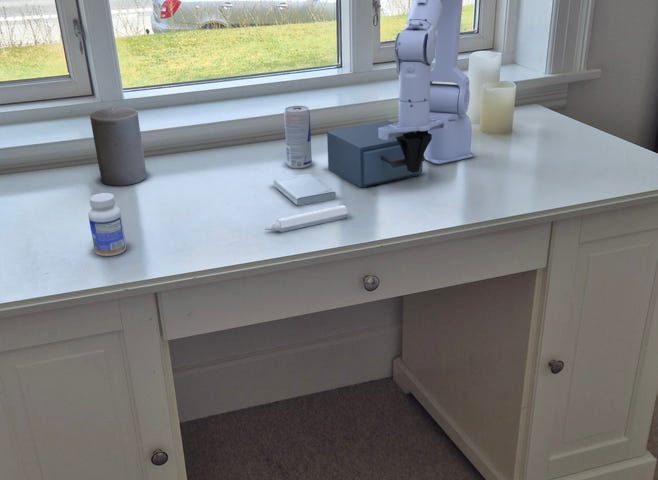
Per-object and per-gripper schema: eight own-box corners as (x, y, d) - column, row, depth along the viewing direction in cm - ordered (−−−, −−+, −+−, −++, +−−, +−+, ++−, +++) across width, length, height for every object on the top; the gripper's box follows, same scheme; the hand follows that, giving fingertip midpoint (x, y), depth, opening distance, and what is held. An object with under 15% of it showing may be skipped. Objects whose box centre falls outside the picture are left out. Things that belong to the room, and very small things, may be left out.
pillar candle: (91, 183, 173) (78, 111, 165) (118, 169, 181) (106, 99, 173) (131, 188, 170) (119, 114, 162) (156, 173, 177) (146, 102, 170)
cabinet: (421, 174, 171) (422, 135, 166) (360, 187, 165) (360, 147, 161) (386, 157, 181) (387, 120, 177) (328, 169, 175) (327, 131, 171)
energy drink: (313, 160, 181) (310, 105, 174) (310, 168, 176) (308, 112, 170) (288, 161, 181) (285, 105, 175) (285, 168, 177) (282, 112, 170)
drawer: (437, 179, 165) (438, 148, 162) (380, 192, 160) (380, 160, 156) (390, 156, 179) (390, 127, 175) (335, 167, 173) (335, 138, 170)
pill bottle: (97, 245, 145) (87, 192, 140) (128, 243, 145) (119, 190, 140) (92, 258, 140) (82, 203, 135) (125, 255, 140) (115, 201, 135)
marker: (264, 237, 147) (344, 219, 153) (268, 235, 145) (348, 216, 151) (260, 223, 147) (340, 205, 152) (264, 221, 145) (344, 202, 150)
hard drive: (335, 191, 159) (310, 172, 169) (296, 198, 157) (273, 178, 166) (336, 199, 160) (311, 180, 170) (296, 206, 158) (273, 186, 167)
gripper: (393, 108, 147) (392, 183, 154) (459, 97, 153) (456, 169, 159) (372, 101, 152) (372, 173, 159) (436, 90, 158) (434, 160, 165)
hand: (413, 171), depth 160 cm, fingers closed, pressing on drawer
